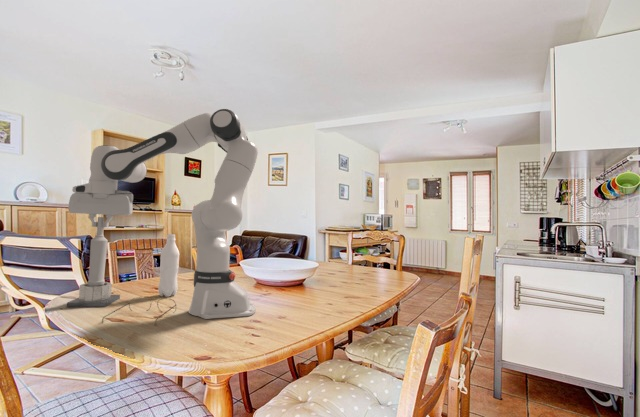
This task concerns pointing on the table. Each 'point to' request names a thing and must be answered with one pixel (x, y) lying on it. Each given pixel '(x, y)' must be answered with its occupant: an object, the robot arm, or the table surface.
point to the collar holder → (94, 296)
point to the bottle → (98, 257)
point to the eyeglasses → (146, 310)
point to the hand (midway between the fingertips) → (100, 227)
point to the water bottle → (169, 268)
